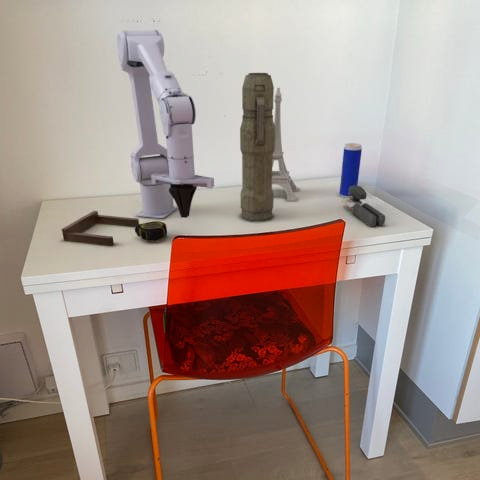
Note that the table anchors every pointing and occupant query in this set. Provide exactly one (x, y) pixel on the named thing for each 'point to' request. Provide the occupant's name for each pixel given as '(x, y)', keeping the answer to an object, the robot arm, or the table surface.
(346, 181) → the beverage can
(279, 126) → the eiffel tower
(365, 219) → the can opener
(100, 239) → the walnut frame
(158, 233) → the tape measure
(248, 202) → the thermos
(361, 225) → the table surface
